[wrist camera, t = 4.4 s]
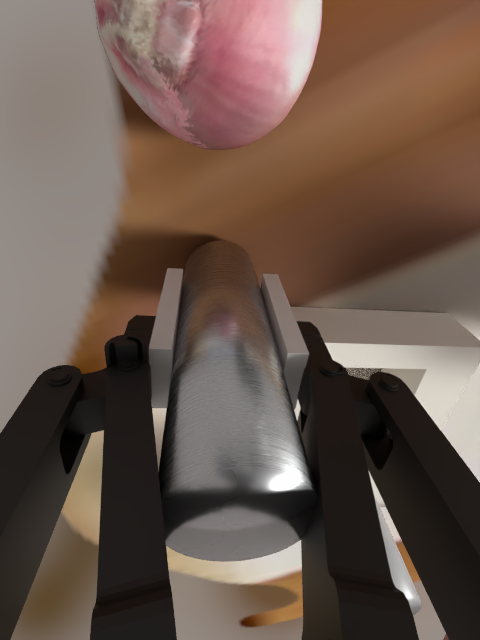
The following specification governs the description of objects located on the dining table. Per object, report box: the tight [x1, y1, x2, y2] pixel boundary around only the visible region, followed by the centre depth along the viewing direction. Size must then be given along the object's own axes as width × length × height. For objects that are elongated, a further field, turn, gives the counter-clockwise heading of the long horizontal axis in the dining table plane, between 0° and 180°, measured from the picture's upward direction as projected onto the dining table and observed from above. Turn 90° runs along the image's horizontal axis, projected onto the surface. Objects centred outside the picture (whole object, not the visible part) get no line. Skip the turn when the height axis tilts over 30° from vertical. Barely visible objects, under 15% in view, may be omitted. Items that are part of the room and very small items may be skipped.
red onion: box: [94, 0, 322, 150], centre depth 12 cm, size 8×8×7 cm
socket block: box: [291, 307, 480, 615], centre depth 22 cm, size 16×12×12 cm
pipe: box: [159, 241, 318, 561], centre depth 14 cm, size 4×4×14 cm
